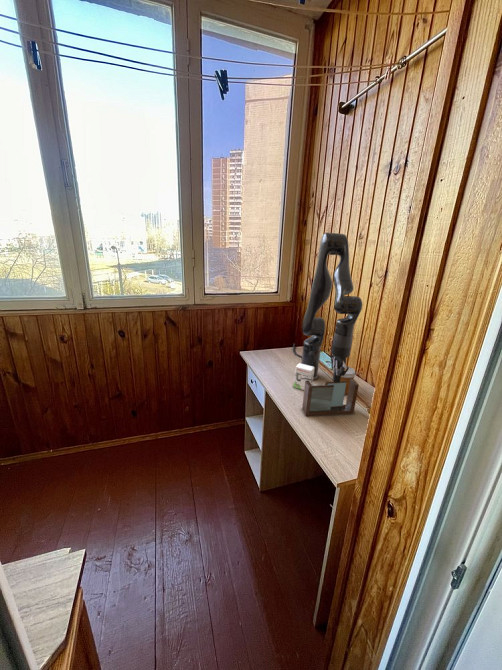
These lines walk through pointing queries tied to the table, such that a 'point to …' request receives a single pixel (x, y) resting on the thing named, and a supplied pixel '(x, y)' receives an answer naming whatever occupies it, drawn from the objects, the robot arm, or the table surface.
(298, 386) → the ink box
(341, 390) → the sliding pane
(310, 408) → the window frame
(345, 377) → the disposable coffee cup
